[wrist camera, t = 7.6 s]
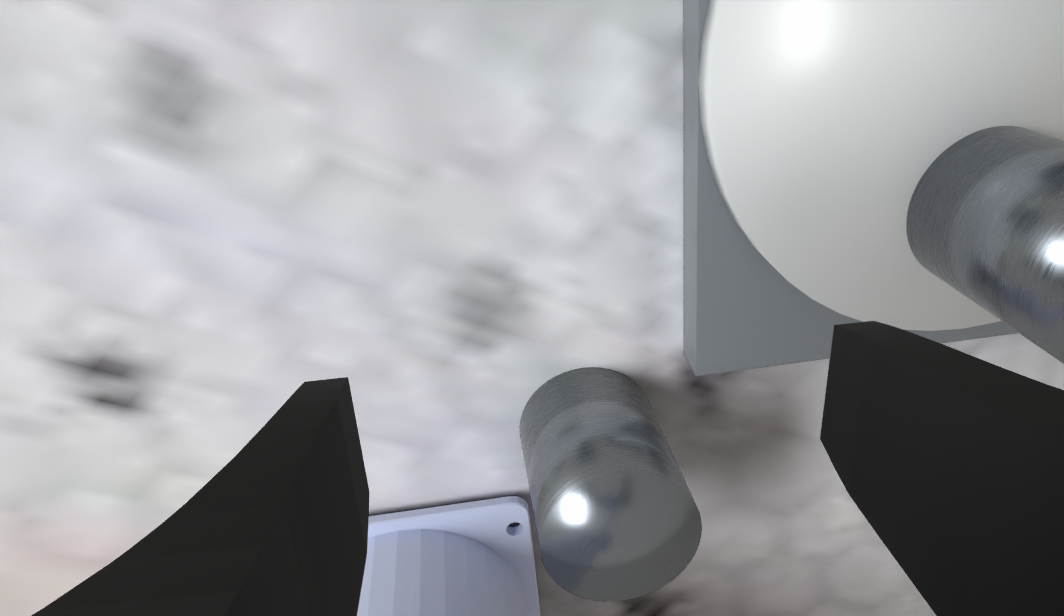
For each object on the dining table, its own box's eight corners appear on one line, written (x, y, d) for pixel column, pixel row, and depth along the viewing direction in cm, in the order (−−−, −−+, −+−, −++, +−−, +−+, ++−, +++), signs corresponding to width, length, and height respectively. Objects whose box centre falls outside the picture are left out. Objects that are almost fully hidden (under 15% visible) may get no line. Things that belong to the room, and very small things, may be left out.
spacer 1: (652, 469, 25) (701, 588, 20) (525, 487, 25) (547, 612, 20) (649, 358, 23) (702, 461, 19) (513, 377, 23) (533, 486, 18)
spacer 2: (1051, 263, 21) (1225, 355, 16) (903, 294, 20) (1036, 396, 16) (1071, 110, 19) (1272, 166, 14) (909, 144, 19) (1060, 211, 14)
